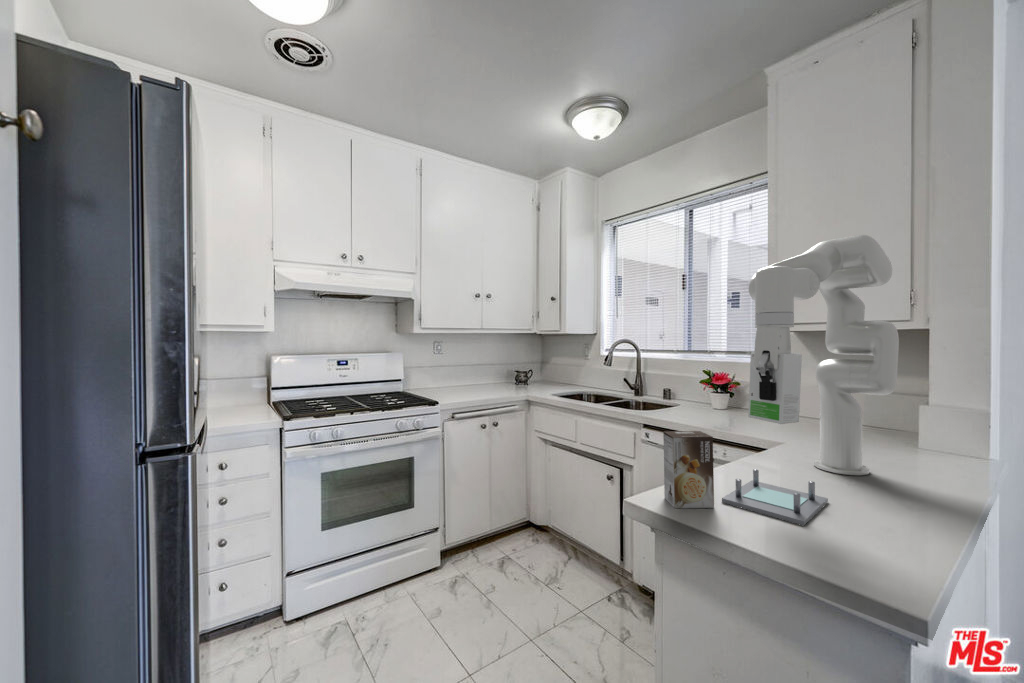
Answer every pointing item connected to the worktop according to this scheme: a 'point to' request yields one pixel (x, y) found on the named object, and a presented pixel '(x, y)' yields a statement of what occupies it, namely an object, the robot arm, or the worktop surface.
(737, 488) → the guide pins
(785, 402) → the skincare box
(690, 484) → the coffee box
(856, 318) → the robot arm
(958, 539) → the worktop surface
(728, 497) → the grey base plate
